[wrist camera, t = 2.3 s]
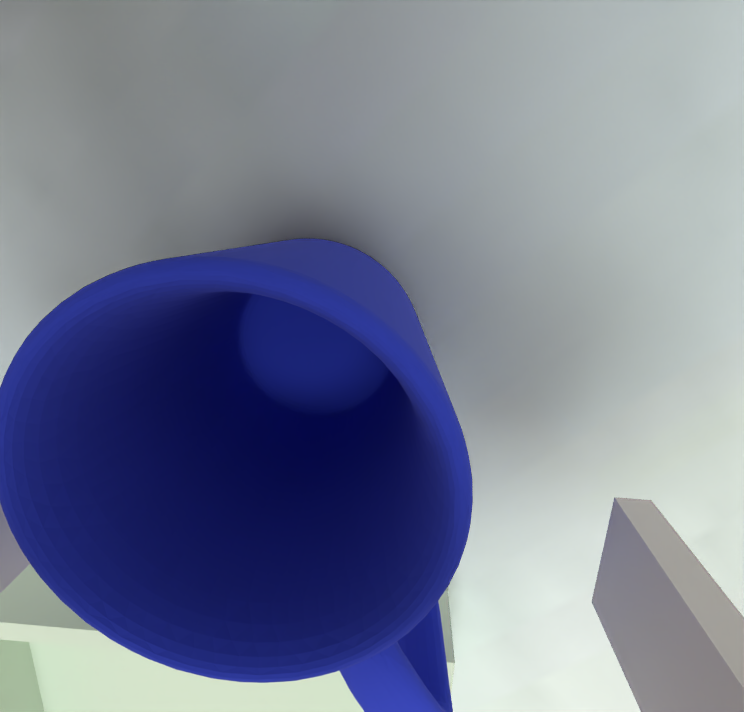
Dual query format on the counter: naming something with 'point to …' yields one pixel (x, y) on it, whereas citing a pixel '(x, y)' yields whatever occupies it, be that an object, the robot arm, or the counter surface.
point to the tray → (133, 668)
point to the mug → (245, 469)
